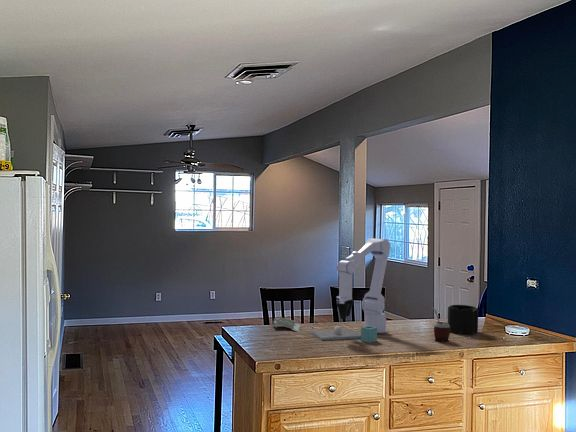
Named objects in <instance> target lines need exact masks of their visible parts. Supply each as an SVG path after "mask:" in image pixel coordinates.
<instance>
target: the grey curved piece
mask: <svg viewBox="0 0 576 432" xmlns="http://www.w3.org/2000/svg"><path fill="white" fill-rule="evenodd" d="M276 325H279V326H283V327H285V328H288V329H291V330H292V331H295V332H297V333H298V332H300V328H301V327H302V325H301V324H299V323H296V321H295V320H293V319H290V318H284V317H282V316H281V315H279V316H278V317H277V318H276V317H274V318H273V324H271V327H273V328H272V329H274V328H275V326H276Z"/></svg>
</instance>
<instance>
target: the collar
mask: <svg viewBox="0 0 576 432" xmlns="http://www.w3.org/2000/svg"><path fill="white" fill-rule="evenodd" d="M360 334H361V339H360V341H361V342H364V343H369V344H371V343H375V342H378V333H377V327H372V326H365V325H364V326H361V327H360Z"/></svg>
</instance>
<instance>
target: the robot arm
mask: <svg viewBox="0 0 576 432" xmlns="http://www.w3.org/2000/svg"><path fill="white" fill-rule="evenodd" d="M390 250H391V243H390V241H389V240H388V239H387V238H373V237H369V238H368V239H367V240H366V241H365V244H364V245H363V246H362V247H361V248H360V249H359V250H358V251H352V252H351V254H350V255H348V256H347V257H346V258H345V259H343V260H340V261H339V262H337V266H336V270H337V273H338V278H339V281H338V282H339V283H338V284H339V285H338V290H339V291H338V292H339V293H338V295H337V296H336V297H335V298H336V299H338V300H339V301H338V302H336V307H337V308H338V312H339V316H340V317H339V318H340V320H346V319H347V317H350V315H351V310H352V307H353V305H354V303H355V299H353V274H355V271H356V268H357V267H358V266H359V265H360V264H361V263H363V262H364V258H365V257H366V256H368V255H369V254H371V255H372V256H373V257H374V258H375V261H374V268H373V272H372V277H371V283H370V288H369V291H368V292H366V293H365V294H364V297H363V299H362V301H361V308H362V310H363V312H364V327H365V326H372V327H377V334H382V333H387V326H386V325H387V317H386V313H385V312H384V310H385V306H386V305H385V300H386V299H385V297H384V295H383V294H382V288H383V283H384V278H385V273H386V268H387V262H388V257H389V256H390Z"/></svg>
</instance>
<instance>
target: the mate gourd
mask: <svg viewBox="0 0 576 432" xmlns="http://www.w3.org/2000/svg"><path fill="white" fill-rule="evenodd" d="M430 308H431V309H432V310H433V311H434V313H435V315H436V318H437V322H435V324H434V326H433V335H434V342H442V343H443V344H444V343H446V342H449V338H450V334H451V332H450V326H449V324H448V322H445V321H440V318H439V315H438V312H437V310H436V309H435V308H434V307H433V306H432V305H430Z"/></svg>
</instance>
